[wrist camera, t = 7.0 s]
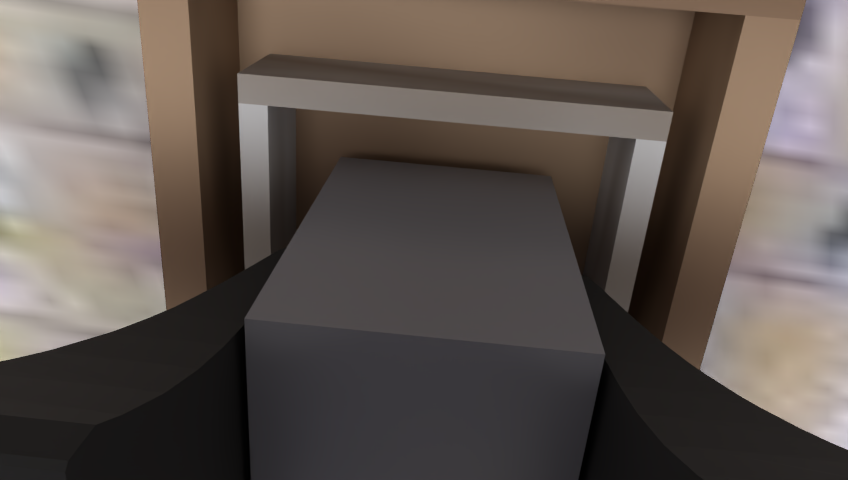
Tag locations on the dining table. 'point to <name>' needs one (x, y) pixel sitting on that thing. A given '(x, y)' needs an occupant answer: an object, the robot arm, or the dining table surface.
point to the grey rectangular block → (423, 333)
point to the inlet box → (472, 125)
